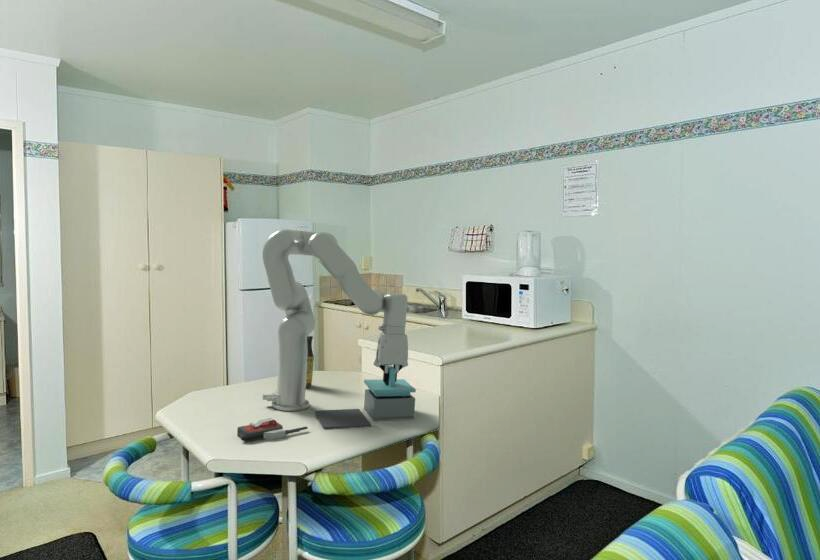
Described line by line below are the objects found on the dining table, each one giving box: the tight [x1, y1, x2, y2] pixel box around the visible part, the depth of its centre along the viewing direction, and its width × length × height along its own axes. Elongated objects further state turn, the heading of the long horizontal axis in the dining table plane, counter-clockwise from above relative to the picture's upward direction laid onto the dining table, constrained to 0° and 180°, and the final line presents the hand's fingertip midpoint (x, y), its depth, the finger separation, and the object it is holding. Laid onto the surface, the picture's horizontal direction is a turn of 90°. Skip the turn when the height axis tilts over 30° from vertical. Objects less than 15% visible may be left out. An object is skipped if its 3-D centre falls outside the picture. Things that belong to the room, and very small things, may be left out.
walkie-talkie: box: [236, 417, 309, 443], centre depth 156 cm, size 9×4×20 cm
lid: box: [363, 365, 417, 396], centre depth 181 cm, size 14×12×8 cm
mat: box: [314, 408, 372, 430], centre depth 173 cm, size 15×16×1 cm
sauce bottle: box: [306, 334, 315, 388], centre depth 208 cm, size 6×6×20 cm
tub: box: [363, 388, 416, 422], centre depth 182 cm, size 14×12×7 cm
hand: (389, 383), depth 181 cm, fingers closed on lid, 1 cm apart
